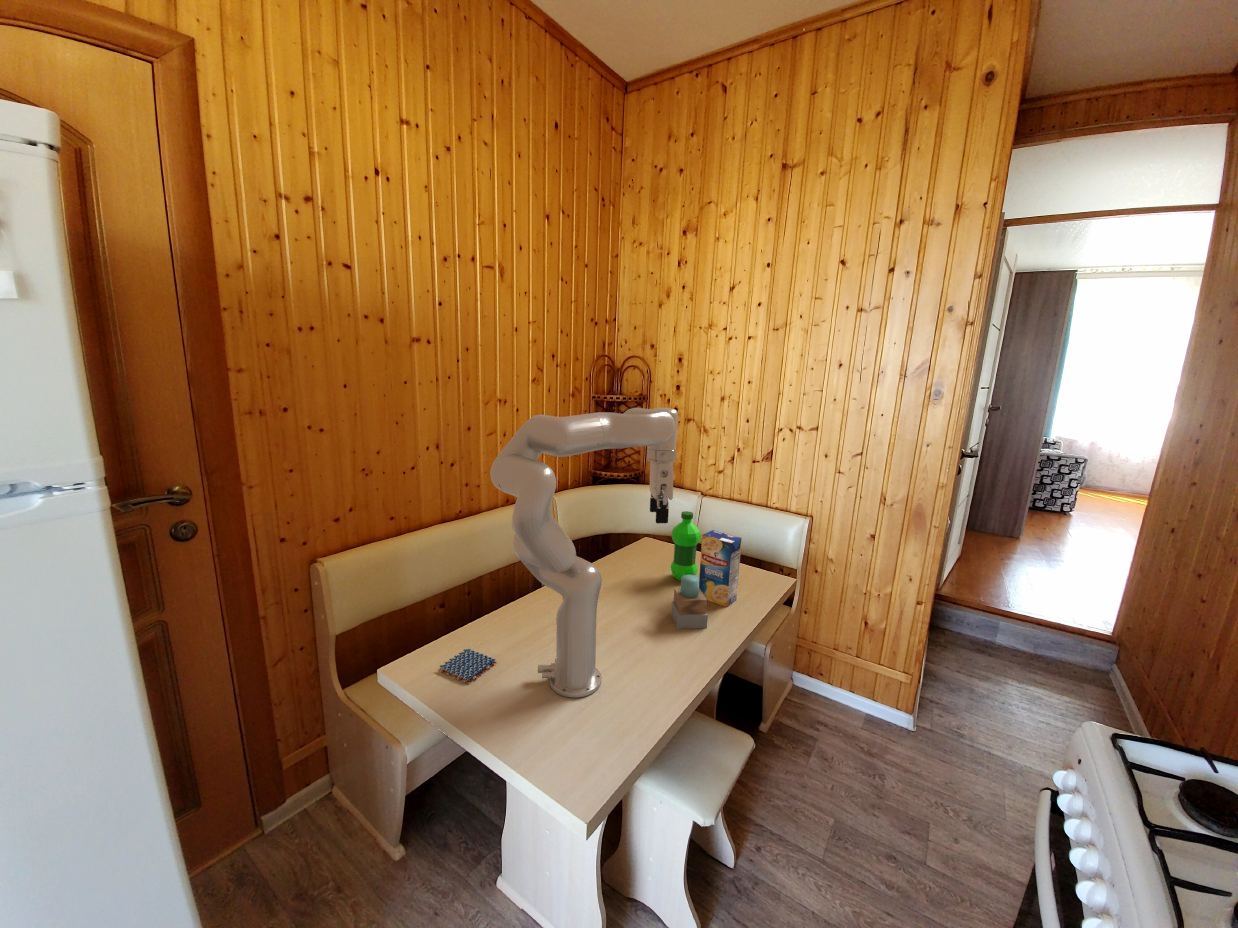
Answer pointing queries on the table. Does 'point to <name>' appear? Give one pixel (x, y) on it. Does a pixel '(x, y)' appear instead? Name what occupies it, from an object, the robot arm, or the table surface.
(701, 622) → the tower base
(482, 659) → the woven mat
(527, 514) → the robot arm
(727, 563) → the beverage box
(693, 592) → the blue egg-shaped pebble
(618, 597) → the table surface
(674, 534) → the green soda bottle
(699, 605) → the tower top
